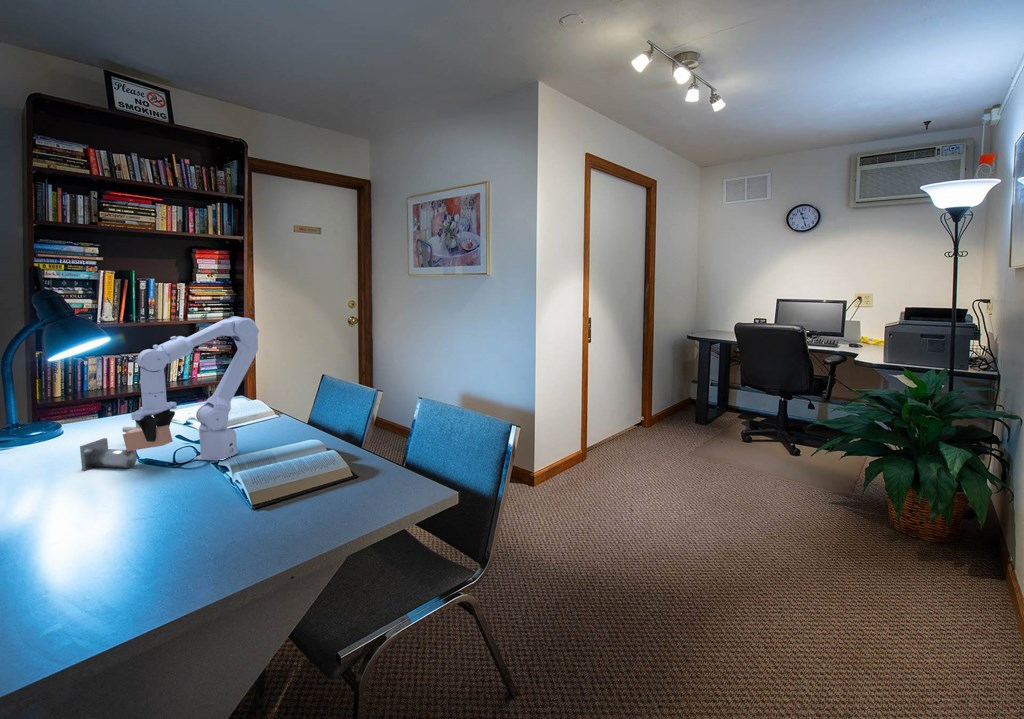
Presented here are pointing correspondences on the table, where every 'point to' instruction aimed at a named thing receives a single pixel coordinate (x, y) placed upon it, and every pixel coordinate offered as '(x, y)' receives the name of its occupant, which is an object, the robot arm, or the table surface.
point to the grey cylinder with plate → (105, 456)
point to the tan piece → (138, 440)
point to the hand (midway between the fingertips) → (157, 438)
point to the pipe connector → (130, 428)
